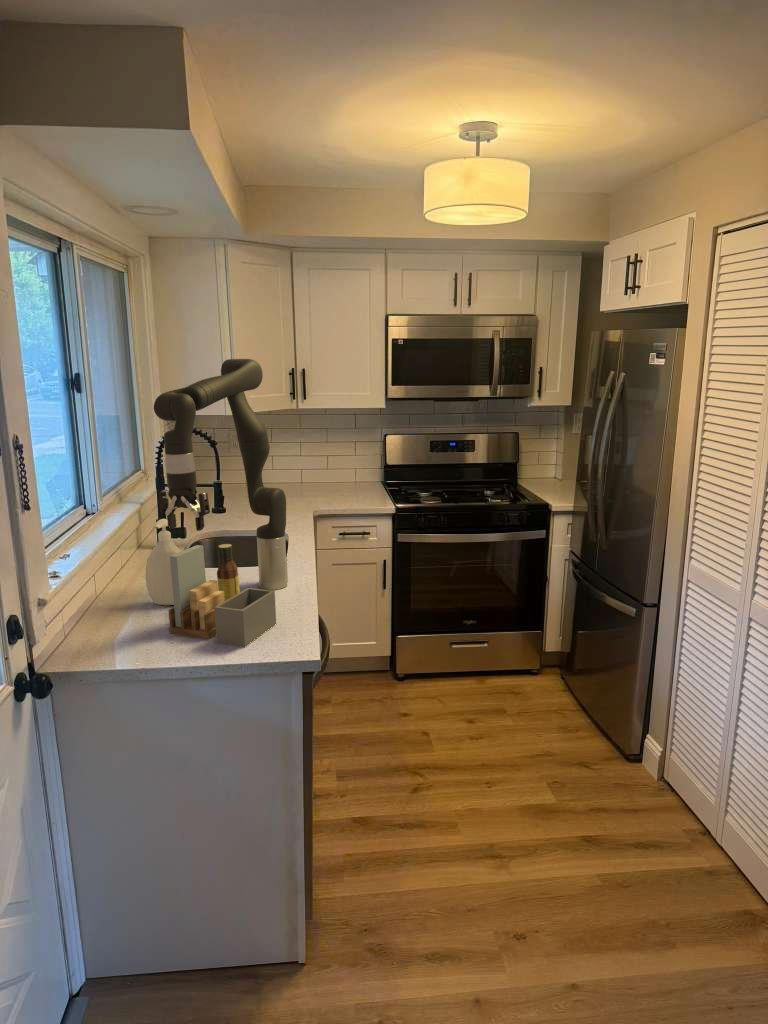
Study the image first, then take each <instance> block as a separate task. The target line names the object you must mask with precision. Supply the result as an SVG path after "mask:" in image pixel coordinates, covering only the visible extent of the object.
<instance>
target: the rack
mask: <svg viewBox="0 0 768 1024" xmlns="http://www.w3.org/2000/svg"><path fill="white" fill-rule="evenodd" d="M167 611H168V620H169V626H168V631H169V632H168V633H169V635H175V636H182V637H188V638H195V639H200V640H201V639H203V640H211V639H213V638H214V637H216V623H215V609H213V610H211V611H209V612H207V613H206V614H204V623H205V630H204V629H200V619H199V609H198V610H196V611H194V612H193V613H192V621H193V625H192V621H191V608H190V606H189V607H187V608H185V609H184V610H182V611H180V617H181V627H177V626H176V623H175V611H174V606H172V607H171V608H170V609H168V610H167Z"/></svg>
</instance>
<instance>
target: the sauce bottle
mask: <svg viewBox="0 0 768 1024" xmlns="http://www.w3.org/2000/svg"><path fill="white" fill-rule="evenodd" d="M217 551H218V553H219V562H218V567H217V571H216V579H217V580H216V581H217V587H218V591H224V599H225V601H226V600H228V599H230V598H231V597H233V596H235V595H237V594H238V593H240V592H241V590H240V580H239V579H240V578H239V573H238V572H239V571H238V566H237V564H236V562H235V561H234V560H233V559H234V558H233V552H232V551H233V545H232V544H230V543H223V544H218V546H217Z"/></svg>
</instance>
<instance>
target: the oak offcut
mask: <svg viewBox="0 0 768 1024" xmlns="http://www.w3.org/2000/svg"><path fill="white" fill-rule="evenodd" d="M216 591H218V580H215V579H209V580H206V582H205V583H203V584H202V585H200V586H198V587H196V588H194V589H192V590H190V591H189V595H190V608H191V621H192V613H193V612H194V611H196V610H198V609H199V605H198V601H199V600H201V599H203V598H205V597H207V596H208V595H210V594H212V593H214V592H216ZM192 625H193V621H192Z"/></svg>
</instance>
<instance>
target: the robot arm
mask: <svg viewBox="0 0 768 1024" xmlns="http://www.w3.org/2000/svg"><path fill="white" fill-rule="evenodd" d="M263 373H264V372H263V369H262V367H261V365H260V363H259V362H258V361H257V360H254V359H252V358H232V359H231V358H228V359H225V360H224V361H223V362H222V364H221V368H220V375H216V376H212V377H207V378H204V379H201V380H198V381H196V382H193V383H191V384H190V385H188V386H185V387H181V388H177V389H173V390H169V391H168V390H167V391H166V392H163V393H161V394H159V395H158V396H157V397H156V398H155V400H154V403H153V411H154V414H155V415H156V416H157V418H159V419H160V420H162V421H166V422H173V421H174V422H175V424H174V428H173V429H171V430H168V431H166V432H164V434H163V445H164V456H165V457H164V465H165V466H164V467H165V475H166V486H167V488H168V490H167V489H164V490H163V489H162V490H160V491H159V492H158V503H159V504H158V505H159V512H160V513H163V514H165V516H166V519H167V520H168V526H167V527H169V529H171V530H173V529H176V528H177V517H176V516H177V515H176V513H175V512H176V511H177V509H179V508H183V509H188V510H189V511H190V512H192V513H193V516H195V517H194V519H195V531H198V532H200V531H203V529H204V528H205V518H204V517H205V516H206V515H208V514H210V513H211V509H210V502H209V493H208V492H207V491H202V492H198V491H197V484H198V483H197V482H198V481H197V471H196V462H195V461H196V460H195V456H194V452H193V451H194V450H193V438H192V437H193V431H194V427H195V420H196V412H197V411H201V410H203V409H206V408H207V407H209V406H211V405H213V404H214V403H217V402H219V401H221V400H224V399H226V398H227V403H228V405H229V407H230V408H229V409H230V411H231V415H232V419H233V422H234V427H235V432H236V438H237V442H238V447H239V452H240V454H241V459H242V464H243V469H244V473H245V480H246V488H247V489H246V490H247V499H248V504H249V507H250V510H251V511H252V513H254V514H255V515H258V516H265V517H266V516H267V517H268V519H269V520H268V523H265V524H263V525H261V526H257V528H256V546H257V563H258V564H257V565H258V566H257V567H258V585H259V588H260V589H262V590H271V591H275V590H280V589H283V588H286V587H287V586H288V583H289V580H288V579H289V576H288V557H287V551H286V549H287V548H286V547H287V546H286V528H287V497H286V494H285V492H284V490H283V489H282V488H278V487H265V486H264V481H263V469H264V466H265V464H266V462H267V460H268V457H269V455H270V442H269V436H268V431H267V429H266V426H265V424H264V423H263V421H262V420H261V418H260V417H259V416H258V414H257V413H255V411H254V410H253V409H252V407H251V406H250V404H249V402H248V399H247V397H246V394H245V392H248V391H252V390H256V389H258V388H259V386H261V384H262V382H263ZM169 499H170V500H169Z"/></svg>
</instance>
